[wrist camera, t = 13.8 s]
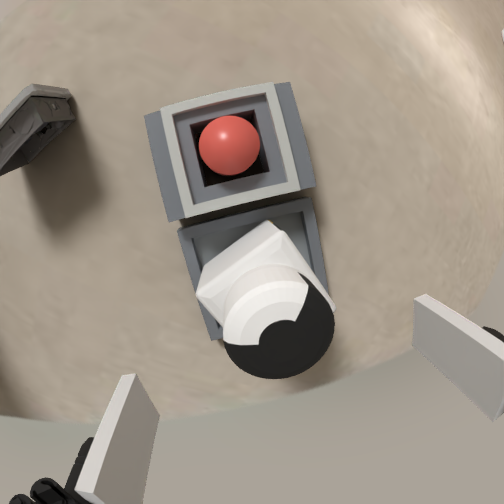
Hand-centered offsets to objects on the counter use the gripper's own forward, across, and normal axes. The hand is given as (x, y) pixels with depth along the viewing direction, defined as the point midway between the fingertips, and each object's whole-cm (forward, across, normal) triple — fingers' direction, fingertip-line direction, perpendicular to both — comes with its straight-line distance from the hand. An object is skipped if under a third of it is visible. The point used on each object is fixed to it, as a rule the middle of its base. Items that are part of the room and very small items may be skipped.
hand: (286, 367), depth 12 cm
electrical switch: (+17, -18, +19) cm, 31 cm away
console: (+16, 0, +5) cm, 17 cm away
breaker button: (+14, 0, +11) cm, 18 cm away
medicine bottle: (+15, 0, 0) cm, 15 cm away
